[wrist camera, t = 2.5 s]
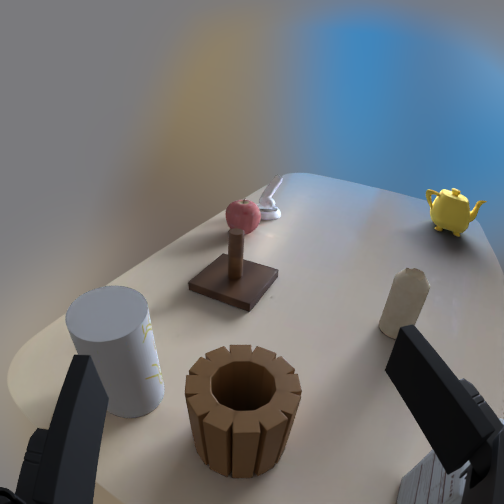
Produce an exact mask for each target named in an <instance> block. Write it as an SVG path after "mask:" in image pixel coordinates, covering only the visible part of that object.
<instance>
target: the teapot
mask: <svg viewBox="0 0 504 504" xmlns="http://www.w3.org/2000/svg"><path fill="white" fill-rule="evenodd" d="M460 192H461V191H459V190H457V189H452V191H449V190H445V189H443V190H441V191H440V193H438V192H436V191H434V190H431V189H429V190H427V191H426V198H427V201H428V203H429V206H430V208H431V209H430V216H431V219H432V221H433V222H434V223H435V224H436V225H437V226H436V227H435V229H436V230H438V231H443V228H444V229H447V230H450V231H453V234H454V235H455V236H458V237H459V236H460V233H463V232H464V231H465V230H466V229H467V228H468V225H469V222H472V221H473V220H474V219H475V218H476V216H477V213H478V210H479V208H480V206H481V205H482V204H483V203H485V202H486V201H478V202H477V203H476V205H475V207H474V209H473V210H472V211H471V212H470V208H469V201H468V199H467V198H466V197H465V196H463V195H461V194H460ZM432 194H435V195H437V197H436V198H435V200H434V202H433V204H432V201H431V195H432Z"/></svg>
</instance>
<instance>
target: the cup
mask: <svg viewBox="0 0 504 504" xmlns="http://www.w3.org/2000/svg"><path fill="white" fill-rule="evenodd" d="M66 325H67V327H68V330H69V333H70V335H71V338H72V340H73V343H74V345H75V348H76V350H77V353H78V355H91V358H92V360H93V363H94V365H95V368H96V370H97V372H98V375H99V377H100V379H101V382H102V384H103V386H104V389H105V391H106V393H107V395H108V397H109V402H108V406H107V411H108V412H110V413H112V414H114V415H116V416H119V417H123V418H136V417H140V416H143V415H146V414H148V413H150V412H151V411H153V410H154V409H155V408H156V407H157V406H158V405H159V404H160V402H161V401H162V399H163V396H164V383H163V378H162V374H161V370H160V365H159V361H158V356H157V351H156V347H155V342H154V337H153V332H152V326H151V321H150V315H149V310H148V304H147V301H146V299H145V298H144V296H143V295H142V294H141V293H139V292H138V291H136V290H134V289H132V288H128V287H124V286H105V287H100V288H97V289H94V290H91V291H88V292H86V293H84V294H83V295H81V296H80V297H78V298H77V299H76V300H75V301H74V302H73V303H72V304H71V305H70V307H69V308H68V311H67V313H66Z"/></svg>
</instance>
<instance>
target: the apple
mask: <svg viewBox="0 0 504 504" xmlns="http://www.w3.org/2000/svg"><path fill="white" fill-rule="evenodd" d="M260 219H261V213H260V210H259V208H258V206H257V205H256V204H255V203H253V202H252V201H249V200H245V199H244V200H238V201H234V202H232V203H231V204H230V205H229V206H228V207H227V209H226V221H227V223H228V225H229V227H230V229H233V228H239V229H242V230H244V235H245V234H249V233H251V232H252V231H253V230H255V229H256V228H257V226H258V224H259V222H260Z"/></svg>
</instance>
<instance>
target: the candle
mask: <svg viewBox="0 0 504 504" xmlns="http://www.w3.org/2000/svg"><path fill="white" fill-rule="evenodd" d="M429 289H430V285H429V282H428V280H427V278H426V276H425V274H424V272H423V271H420V270H418V269H416V268H413V269H409V268H406V269H404V270H402V271H400V272H398V273H397V274H396V275H395V277H394V280H393V284H392V287H391V290H390V293H389V296H388V299H387V301H386V304H385V307H384V310H383V313H382V316H381V318H380V322H379V327H380V329H381V331H382V332H383V333H384V334H385V335H387V336H388V337H390V338H393V339H396V338H397V335H398V332H399V329H400V327H403V326H408V325H412V324H413V325H414V326H415V323H416V321H417V319H418V316H419V314H420V312H421V309H422V307H423V305H424V302H425V300H426V297H427V295H428V292H429Z"/></svg>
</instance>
